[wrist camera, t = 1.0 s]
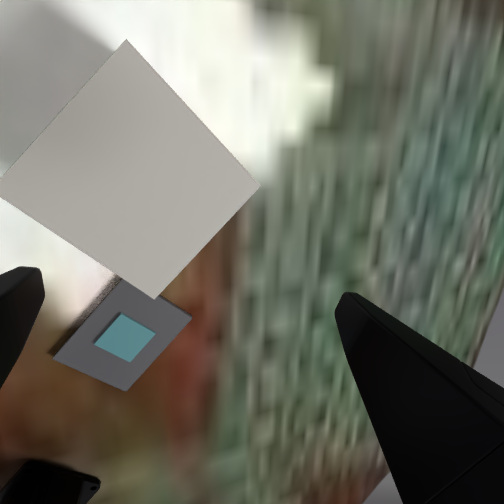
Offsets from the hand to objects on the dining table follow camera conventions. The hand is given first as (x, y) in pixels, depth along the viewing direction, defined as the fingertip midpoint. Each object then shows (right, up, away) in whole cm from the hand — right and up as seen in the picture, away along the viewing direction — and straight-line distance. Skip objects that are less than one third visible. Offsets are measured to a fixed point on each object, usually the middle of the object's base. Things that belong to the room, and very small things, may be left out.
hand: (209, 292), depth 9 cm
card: (-8, -5, +13) cm, 16 cm away
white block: (-6, +6, +10) cm, 13 cm away
